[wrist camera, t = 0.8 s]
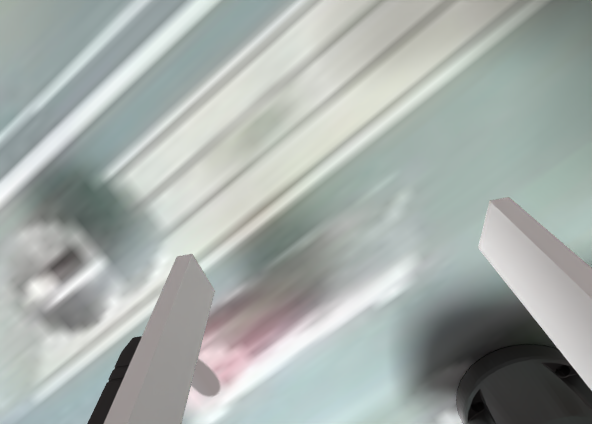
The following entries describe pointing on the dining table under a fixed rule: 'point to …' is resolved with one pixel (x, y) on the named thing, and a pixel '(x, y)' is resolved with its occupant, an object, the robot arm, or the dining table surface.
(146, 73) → the dining table surface
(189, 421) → the dining table surface
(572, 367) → the robot arm
